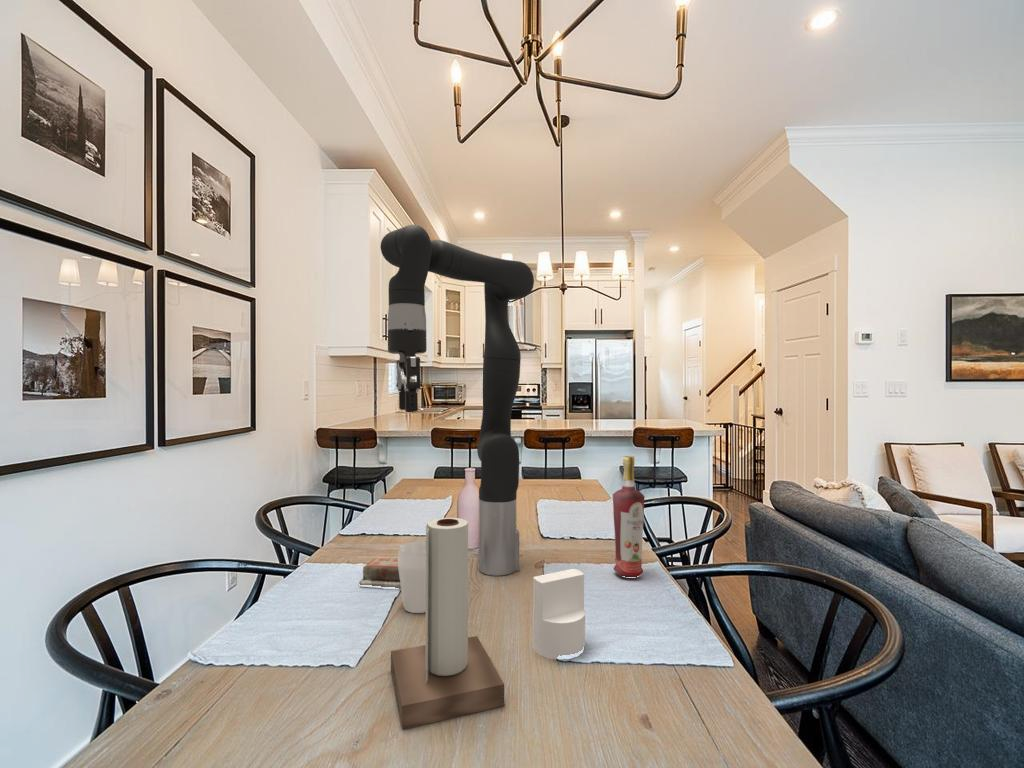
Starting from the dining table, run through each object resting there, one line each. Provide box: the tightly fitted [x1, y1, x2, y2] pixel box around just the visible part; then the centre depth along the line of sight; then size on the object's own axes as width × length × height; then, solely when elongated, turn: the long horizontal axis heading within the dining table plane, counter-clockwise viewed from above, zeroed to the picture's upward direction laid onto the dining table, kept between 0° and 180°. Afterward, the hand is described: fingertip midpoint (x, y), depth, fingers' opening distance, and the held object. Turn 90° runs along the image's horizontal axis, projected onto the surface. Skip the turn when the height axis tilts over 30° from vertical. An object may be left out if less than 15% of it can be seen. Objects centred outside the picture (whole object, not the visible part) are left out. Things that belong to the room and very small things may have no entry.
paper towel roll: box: [425, 517, 469, 683], centre depth 72 cm, size 7×6×21 cm
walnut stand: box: [390, 635, 505, 730], centre depth 72 cm, size 14×14×3 cm
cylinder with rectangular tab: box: [532, 568, 586, 660], centre depth 84 cm, size 9×9×12 cm
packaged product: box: [358, 557, 401, 589], centre depth 112 cm, size 18×5×10 cm
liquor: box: [612, 455, 645, 577], centre depth 116 cm, size 7×7×28 cm
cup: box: [397, 539, 426, 614], centre depth 99 cm, size 9×9×12 cm
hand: (408, 410), depth 97 cm, fingers open, 8 cm apart
